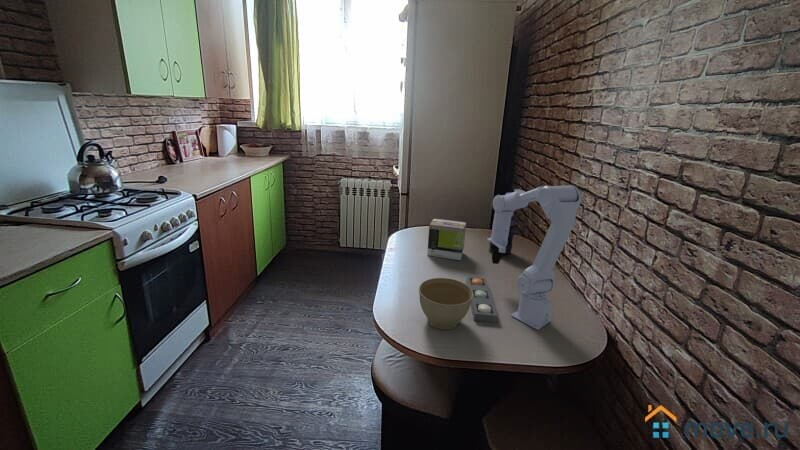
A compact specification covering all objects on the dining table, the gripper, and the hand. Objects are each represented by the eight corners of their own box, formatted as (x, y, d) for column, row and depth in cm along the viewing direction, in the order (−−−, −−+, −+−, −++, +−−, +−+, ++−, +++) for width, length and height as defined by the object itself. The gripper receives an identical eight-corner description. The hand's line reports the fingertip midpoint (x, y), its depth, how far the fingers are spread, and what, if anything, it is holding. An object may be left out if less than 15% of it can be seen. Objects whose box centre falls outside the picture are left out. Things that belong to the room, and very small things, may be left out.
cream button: (491, 317, 114) (492, 311, 113) (478, 315, 114) (479, 310, 113) (489, 310, 118) (490, 304, 117) (476, 308, 118) (477, 303, 117)
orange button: (483, 288, 131) (483, 283, 130) (471, 287, 131) (472, 283, 130) (481, 283, 134) (482, 278, 134) (470, 282, 135) (471, 277, 134)
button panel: (496, 322, 113) (497, 315, 112) (473, 320, 113) (474, 313, 112) (484, 284, 136) (485, 278, 135) (466, 282, 136) (466, 276, 136)
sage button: (486, 301, 122) (487, 296, 122) (475, 300, 122) (475, 295, 122) (485, 295, 126) (485, 290, 125) (473, 294, 126) (474, 289, 126)
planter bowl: (419, 303, 120) (421, 274, 117) (468, 310, 118) (472, 281, 115) (413, 332, 105) (416, 300, 102) (469, 340, 103) (474, 308, 100)
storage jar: (513, 257, 161) (518, 226, 156) (491, 256, 161) (496, 224, 156) (507, 248, 171) (512, 218, 166) (486, 247, 171) (491, 217, 166)
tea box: (463, 252, 163) (467, 221, 159) (460, 261, 154) (464, 229, 149) (430, 247, 167) (433, 217, 162) (426, 255, 158) (429, 224, 153)
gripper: (486, 220, 135) (481, 254, 139) (492, 234, 121) (487, 270, 125) (505, 222, 134) (500, 255, 139) (514, 236, 121) (507, 272, 125)
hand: (495, 263), depth 132 cm, fingers closed
